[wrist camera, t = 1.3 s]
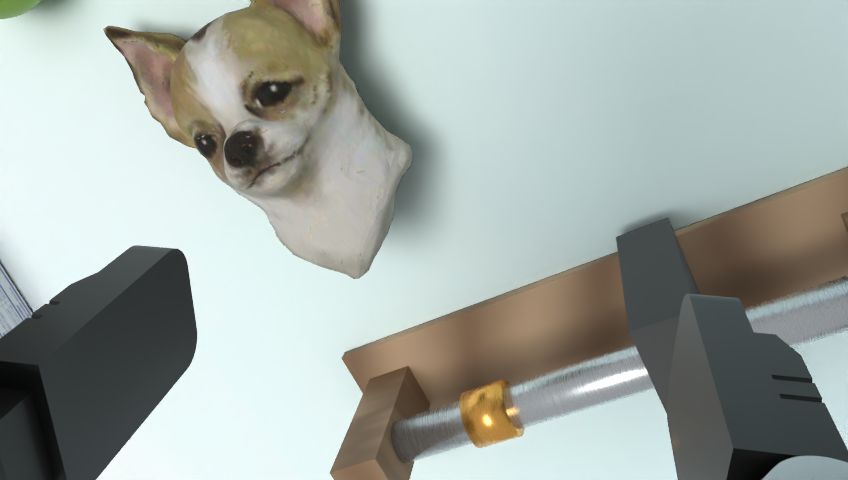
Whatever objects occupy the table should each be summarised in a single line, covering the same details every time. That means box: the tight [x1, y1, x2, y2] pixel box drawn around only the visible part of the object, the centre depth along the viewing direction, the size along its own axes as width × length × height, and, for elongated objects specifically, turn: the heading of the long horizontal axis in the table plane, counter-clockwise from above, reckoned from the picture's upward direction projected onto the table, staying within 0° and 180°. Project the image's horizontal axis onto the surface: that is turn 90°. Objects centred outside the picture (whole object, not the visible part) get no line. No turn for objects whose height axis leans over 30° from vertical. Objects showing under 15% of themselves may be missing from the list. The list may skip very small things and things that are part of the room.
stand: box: [330, 167, 848, 480], centre depth 33 cm, size 28×6×8 cm, turn 115°
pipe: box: [391, 275, 848, 463], centre depth 32 cm, size 25×3×3 cm, turn 115°
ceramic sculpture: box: [103, 0, 413, 279], centre depth 32 cm, size 11×9×15 cm
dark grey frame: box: [616, 218, 701, 413], centre depth 31 cm, size 2×8×8 cm, turn 26°
